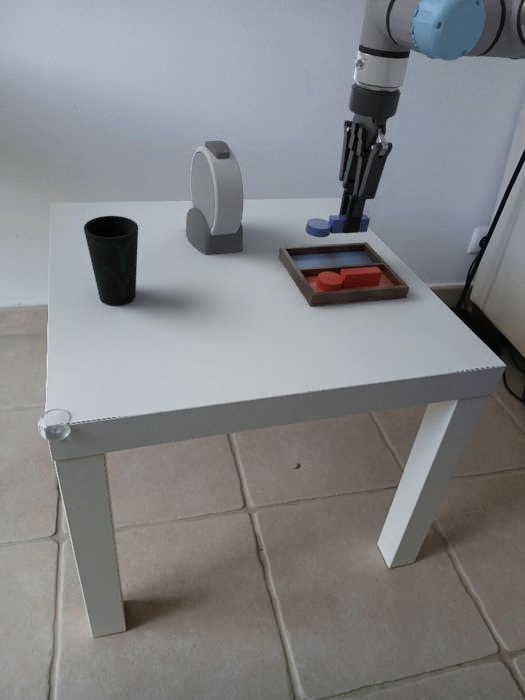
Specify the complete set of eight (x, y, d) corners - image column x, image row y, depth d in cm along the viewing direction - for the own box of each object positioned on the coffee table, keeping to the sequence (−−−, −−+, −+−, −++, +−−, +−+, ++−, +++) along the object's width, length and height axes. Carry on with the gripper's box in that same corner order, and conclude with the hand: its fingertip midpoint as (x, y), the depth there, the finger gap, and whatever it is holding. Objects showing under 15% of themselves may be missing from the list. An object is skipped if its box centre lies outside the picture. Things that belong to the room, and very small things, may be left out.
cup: (103, 281, 87) (96, 212, 80) (148, 287, 87) (144, 219, 79) (84, 305, 81) (74, 233, 74) (132, 313, 81) (127, 241, 73)
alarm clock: (253, 254, 99) (261, 156, 88) (201, 260, 96) (203, 159, 84) (224, 219, 111) (229, 128, 100) (177, 223, 107) (176, 129, 96)
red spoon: (371, 276, 95) (374, 263, 93) (382, 288, 92) (385, 275, 90) (312, 280, 92) (315, 267, 90) (321, 293, 89) (324, 280, 87)
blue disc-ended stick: (359, 224, 97) (362, 211, 96) (369, 235, 94) (373, 221, 92) (302, 226, 94) (304, 213, 92) (310, 238, 91) (312, 224, 89)
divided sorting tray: (364, 252, 104) (366, 242, 103) (406, 297, 92) (409, 287, 90) (278, 257, 99) (279, 247, 98) (310, 306, 87) (312, 295, 85)
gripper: (335, 73, 84) (313, 212, 99) (376, 97, 73) (345, 249, 88) (377, 75, 87) (349, 210, 101) (423, 98, 75) (385, 247, 90)
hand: (347, 228), depth 94 cm, fingers closed on blue disc-ended stick, 2 cm apart
